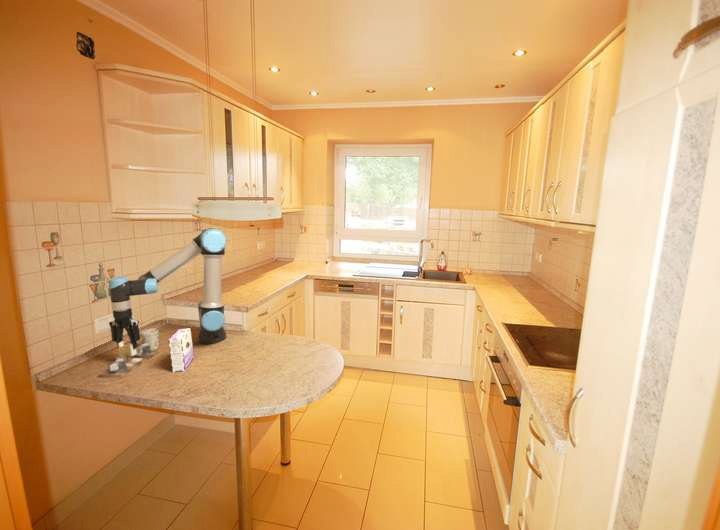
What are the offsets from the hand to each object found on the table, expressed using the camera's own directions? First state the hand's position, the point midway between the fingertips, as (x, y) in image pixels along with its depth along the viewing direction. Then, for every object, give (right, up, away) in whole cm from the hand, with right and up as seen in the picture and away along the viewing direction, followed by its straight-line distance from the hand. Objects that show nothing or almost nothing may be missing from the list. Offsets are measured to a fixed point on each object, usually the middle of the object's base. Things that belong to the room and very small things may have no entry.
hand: (128, 354), depth 166 cm
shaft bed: (0, -5, +1) cm, 5 cm away
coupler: (0, 0, 0) cm, 0 cm away
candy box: (+28, -5, -2) cm, 29 cm away
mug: (-3, -2, +20) cm, 20 cm away
